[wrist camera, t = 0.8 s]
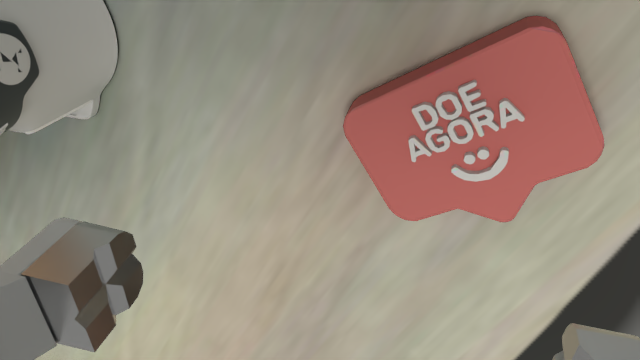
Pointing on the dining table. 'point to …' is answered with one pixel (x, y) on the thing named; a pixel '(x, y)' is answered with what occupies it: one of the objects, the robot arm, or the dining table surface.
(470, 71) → the plaque
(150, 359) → the dining table surface
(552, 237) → the dining table surface
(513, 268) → the dining table surface
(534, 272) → the dining table surface
